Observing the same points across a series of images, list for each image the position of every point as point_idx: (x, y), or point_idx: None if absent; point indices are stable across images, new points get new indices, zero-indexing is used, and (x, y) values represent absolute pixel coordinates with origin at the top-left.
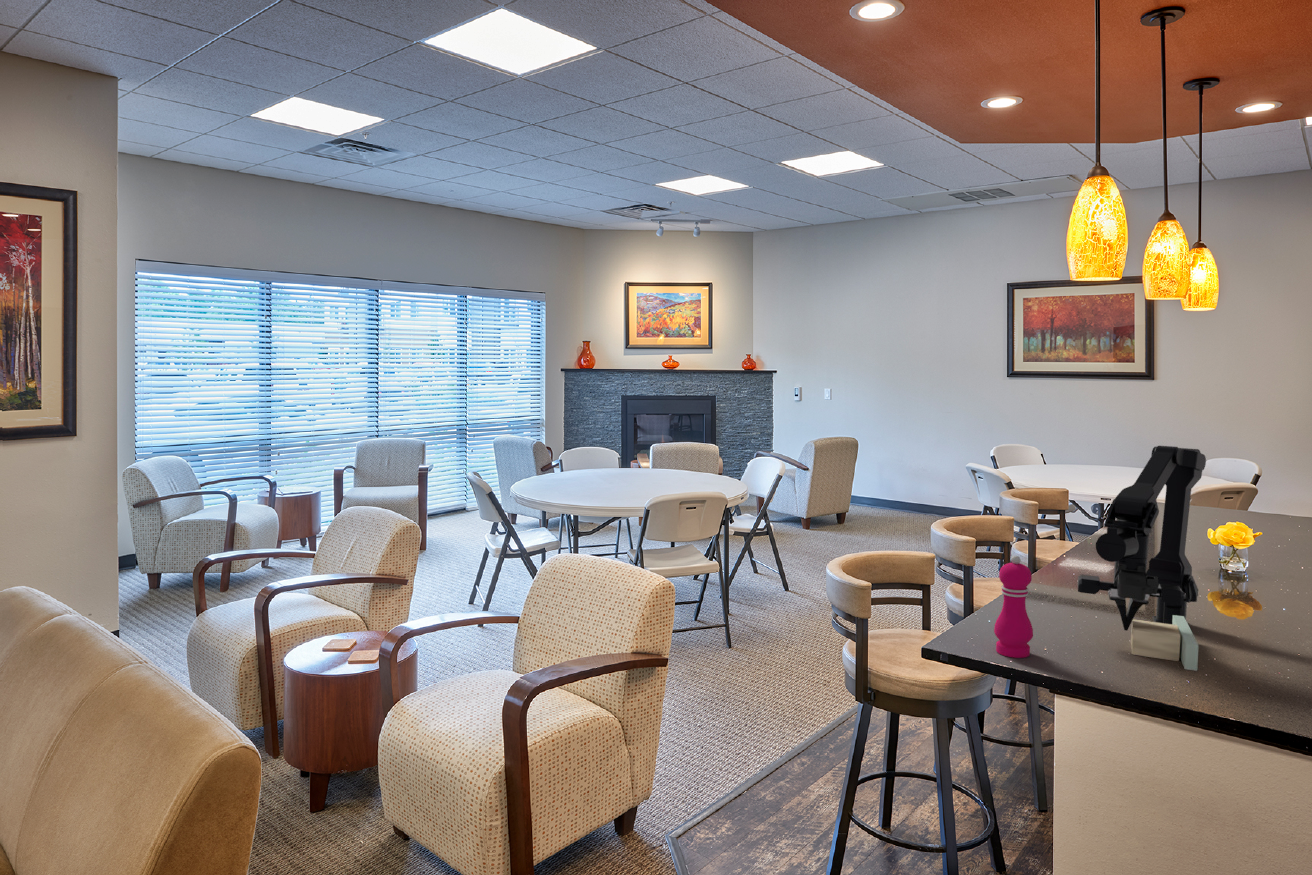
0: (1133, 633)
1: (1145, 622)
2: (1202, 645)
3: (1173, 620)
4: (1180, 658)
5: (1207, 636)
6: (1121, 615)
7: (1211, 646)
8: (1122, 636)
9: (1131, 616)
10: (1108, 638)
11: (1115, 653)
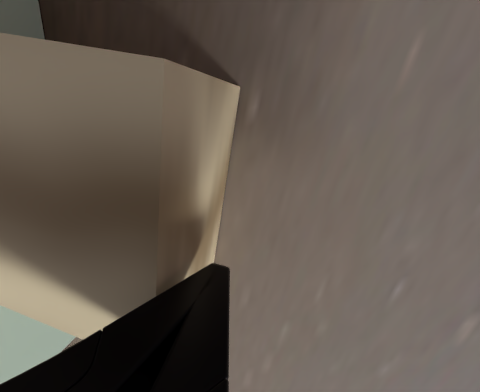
0: (181, 65)
1: (82, 312)
2: None
3: (14, 371)
4: None
5: None
6: (219, 367)
7: None
8: (230, 328)
9: (122, 335)
10: (291, 305)
11: (328, 75)
